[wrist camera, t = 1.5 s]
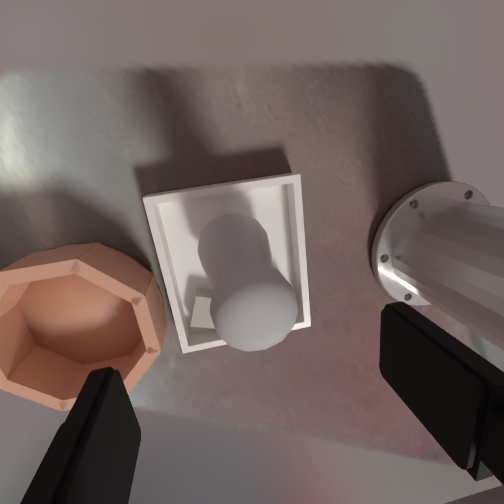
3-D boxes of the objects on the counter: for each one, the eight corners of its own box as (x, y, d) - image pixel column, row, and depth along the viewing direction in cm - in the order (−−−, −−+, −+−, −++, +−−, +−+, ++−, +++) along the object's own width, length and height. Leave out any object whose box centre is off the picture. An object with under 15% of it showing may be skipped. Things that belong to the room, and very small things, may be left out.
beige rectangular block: (238, 293, 27) (241, 301, 25) (232, 321, 28) (234, 330, 26) (196, 288, 26) (195, 296, 24) (191, 316, 27) (190, 326, 25)
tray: (291, 172, 24) (300, 174, 22) (303, 314, 29) (310, 326, 27) (148, 194, 23) (142, 197, 21) (184, 338, 27) (183, 353, 25)
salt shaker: (204, 201, 23) (206, 249, 11) (270, 214, 25) (334, 270, 13) (193, 266, 25) (184, 369, 13) (255, 275, 26) (300, 377, 14)
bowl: (144, 231, 24) (131, 249, 19) (176, 349, 28) (171, 386, 23) (-11, 257, 22) (-65, 282, 18) (46, 376, 26) (14, 422, 22)
